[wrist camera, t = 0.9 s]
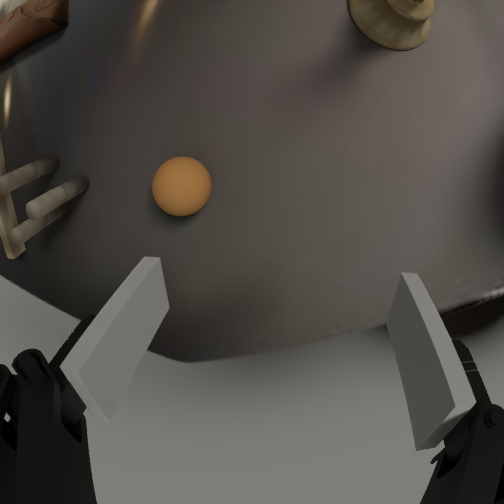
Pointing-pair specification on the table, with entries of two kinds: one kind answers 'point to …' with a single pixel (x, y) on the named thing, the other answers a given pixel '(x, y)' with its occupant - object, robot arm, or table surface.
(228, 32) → the table surface
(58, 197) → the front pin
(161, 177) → the ball
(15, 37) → the sunglasses case
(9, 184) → the pin
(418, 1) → the hand bell
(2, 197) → the grey long bar
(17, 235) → the pin
